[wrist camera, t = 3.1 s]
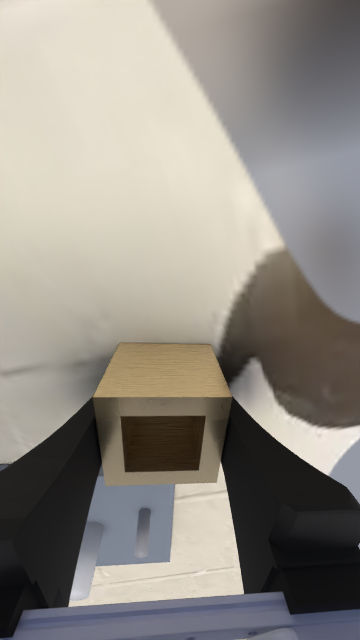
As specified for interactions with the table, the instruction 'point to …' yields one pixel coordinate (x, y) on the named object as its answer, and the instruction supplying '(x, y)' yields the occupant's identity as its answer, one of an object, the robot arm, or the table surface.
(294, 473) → the robot arm
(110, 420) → the wooden collar
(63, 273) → the table surface
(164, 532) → the post plate
